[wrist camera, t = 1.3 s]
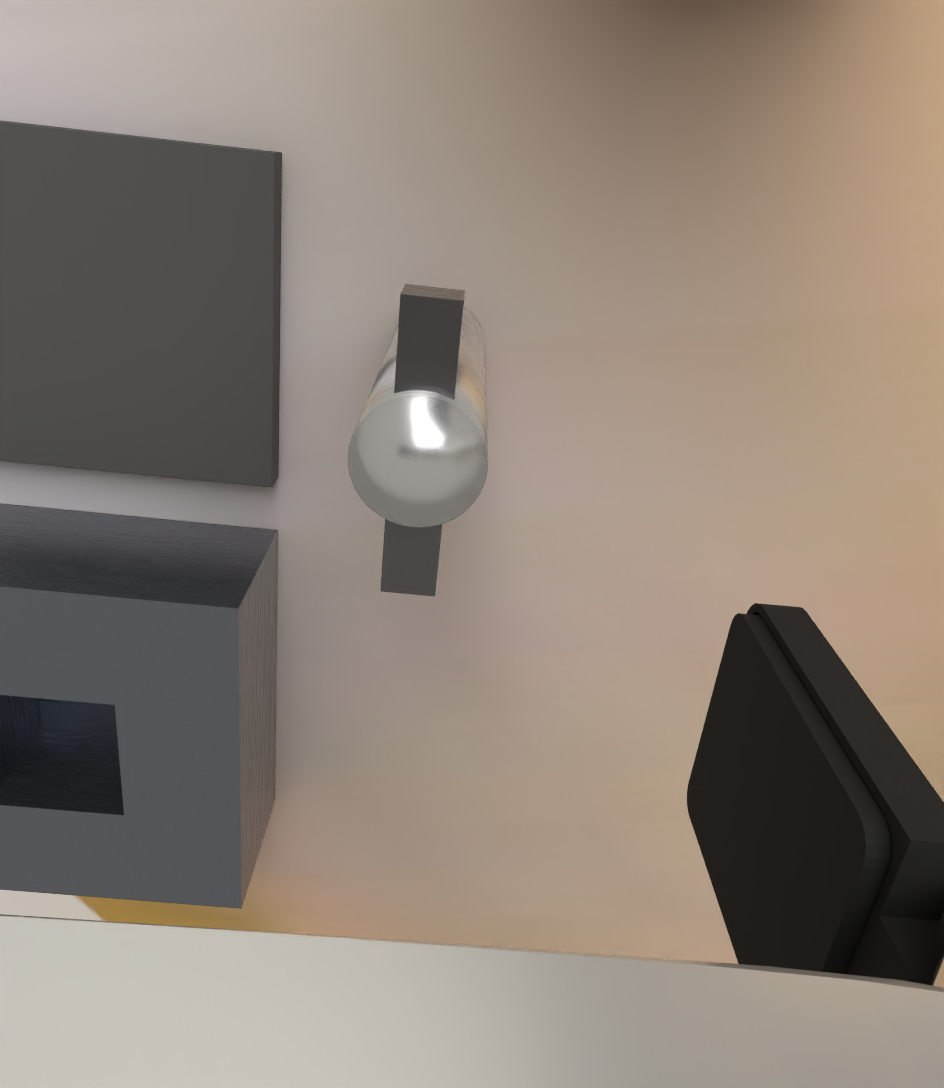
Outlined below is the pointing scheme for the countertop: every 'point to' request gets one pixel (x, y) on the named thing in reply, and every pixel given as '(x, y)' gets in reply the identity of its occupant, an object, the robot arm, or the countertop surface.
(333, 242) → the countertop surface
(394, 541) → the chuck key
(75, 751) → the block
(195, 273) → the rubber pad
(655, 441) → the countertop surface
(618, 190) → the countertop surface
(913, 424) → the countertop surface
